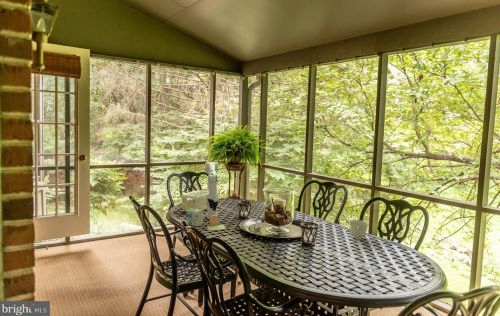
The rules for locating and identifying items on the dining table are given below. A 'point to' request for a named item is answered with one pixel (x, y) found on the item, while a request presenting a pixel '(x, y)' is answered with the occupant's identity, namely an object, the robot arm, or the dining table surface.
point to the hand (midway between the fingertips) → (212, 209)
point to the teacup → (358, 228)
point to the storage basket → (194, 200)
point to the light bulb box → (194, 217)
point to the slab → (213, 220)
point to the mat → (215, 227)
